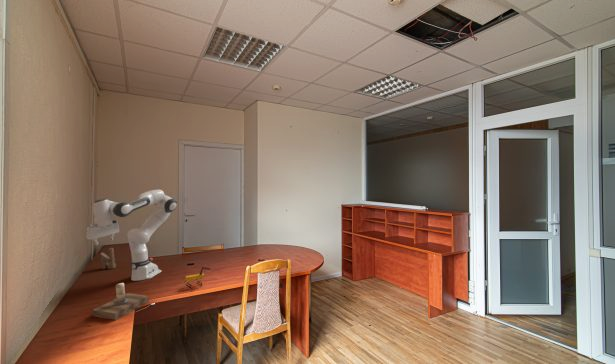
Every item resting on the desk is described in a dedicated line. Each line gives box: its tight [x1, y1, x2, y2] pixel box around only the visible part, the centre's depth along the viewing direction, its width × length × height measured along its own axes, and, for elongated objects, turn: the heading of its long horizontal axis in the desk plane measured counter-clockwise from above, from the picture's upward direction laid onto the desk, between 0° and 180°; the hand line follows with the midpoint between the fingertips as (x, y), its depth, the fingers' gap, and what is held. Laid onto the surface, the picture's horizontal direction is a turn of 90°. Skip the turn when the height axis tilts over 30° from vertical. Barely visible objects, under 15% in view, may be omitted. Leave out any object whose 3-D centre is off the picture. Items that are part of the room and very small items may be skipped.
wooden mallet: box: [100, 247, 117, 270], centre depth 246 cm, size 4×11×18 cm, turn 90°
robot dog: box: [183, 266, 211, 289], centre depth 200 cm, size 6×18×13 cm, turn 109°
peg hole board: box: [92, 292, 150, 321], centre depth 171 cm, size 22×18×4 cm
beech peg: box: [114, 282, 129, 306], centre depth 171 cm, size 8×8×15 cm
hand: (104, 242), depth 189 cm, fingers open, 8 cm apart
